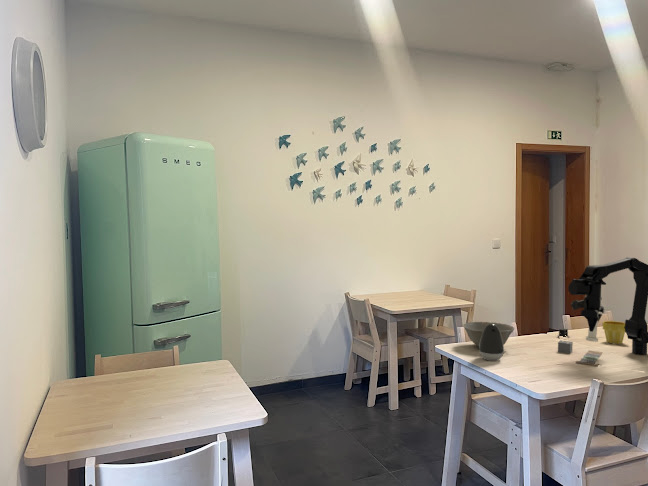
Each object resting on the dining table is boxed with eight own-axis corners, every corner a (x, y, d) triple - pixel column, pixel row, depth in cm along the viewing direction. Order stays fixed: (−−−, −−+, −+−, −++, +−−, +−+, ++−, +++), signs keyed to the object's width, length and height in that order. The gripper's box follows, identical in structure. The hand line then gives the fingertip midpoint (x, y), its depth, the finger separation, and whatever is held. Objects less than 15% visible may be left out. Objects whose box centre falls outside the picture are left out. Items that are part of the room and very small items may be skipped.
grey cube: (560, 351, 228) (560, 340, 227) (572, 352, 225) (572, 341, 224) (557, 353, 223) (558, 342, 223) (570, 355, 221) (570, 343, 220)
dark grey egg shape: (482, 362, 208) (482, 326, 207) (475, 355, 218) (476, 321, 218) (507, 362, 207) (507, 326, 207) (499, 356, 218) (500, 321, 217)
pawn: (586, 338, 220) (588, 316, 220) (598, 340, 218) (600, 317, 217) (584, 340, 216) (586, 317, 216) (597, 342, 214) (599, 319, 213)
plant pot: (597, 340, 248) (597, 321, 248) (613, 339, 251) (613, 320, 251) (615, 345, 238) (615, 325, 238) (631, 344, 242) (632, 324, 241)
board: (586, 350, 228) (586, 349, 228) (606, 353, 223) (606, 352, 223) (575, 363, 207) (575, 361, 207) (597, 366, 202) (597, 364, 202)
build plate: (565, 341, 250) (566, 331, 250) (550, 338, 255) (551, 329, 255) (574, 337, 259) (575, 328, 258) (560, 335, 264) (560, 326, 264)
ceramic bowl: (454, 347, 233) (454, 326, 232) (476, 339, 250) (477, 319, 249) (500, 356, 218) (500, 333, 217) (521, 347, 234) (521, 326, 234)
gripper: (577, 291, 229) (576, 325, 229) (568, 295, 214) (566, 331, 214) (605, 293, 222) (603, 328, 222) (597, 297, 207) (596, 335, 208)
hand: (592, 330), depth 217 cm, fingers closed on pawn, 3 cm apart
